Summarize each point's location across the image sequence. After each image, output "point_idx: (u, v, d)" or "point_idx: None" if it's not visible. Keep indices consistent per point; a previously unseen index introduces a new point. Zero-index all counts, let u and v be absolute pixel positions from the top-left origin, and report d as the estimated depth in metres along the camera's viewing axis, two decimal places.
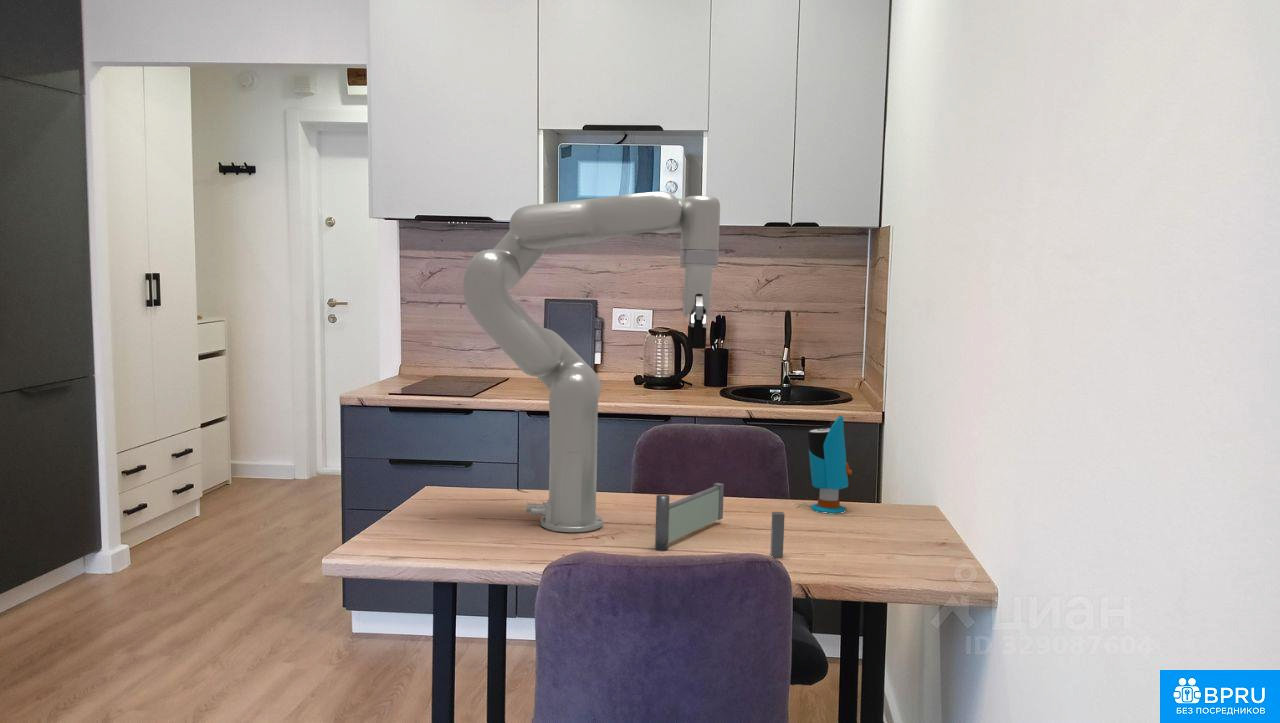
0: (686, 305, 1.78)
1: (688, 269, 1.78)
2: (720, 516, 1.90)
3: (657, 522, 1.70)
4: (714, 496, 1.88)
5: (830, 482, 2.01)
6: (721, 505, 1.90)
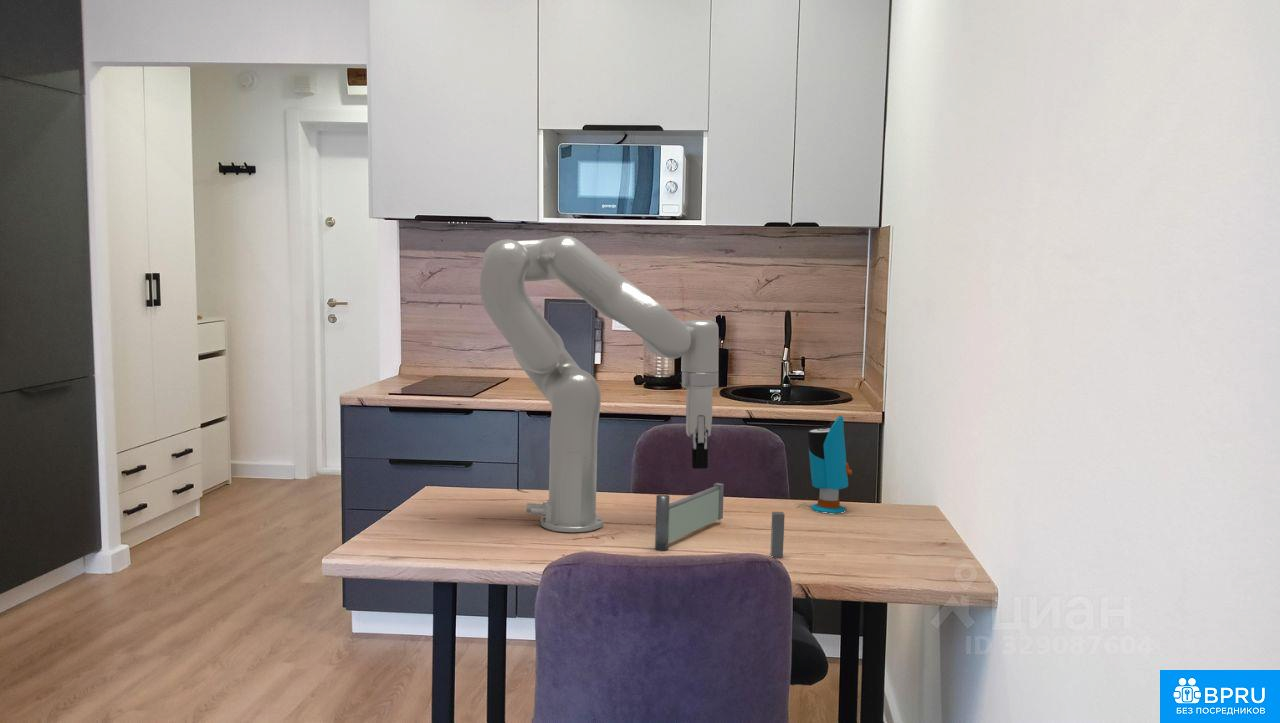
0: (689, 426, 1.87)
1: (690, 392, 1.87)
2: (720, 516, 1.90)
3: (657, 522, 1.70)
4: (714, 496, 1.88)
5: (830, 482, 2.01)
6: (721, 505, 1.90)
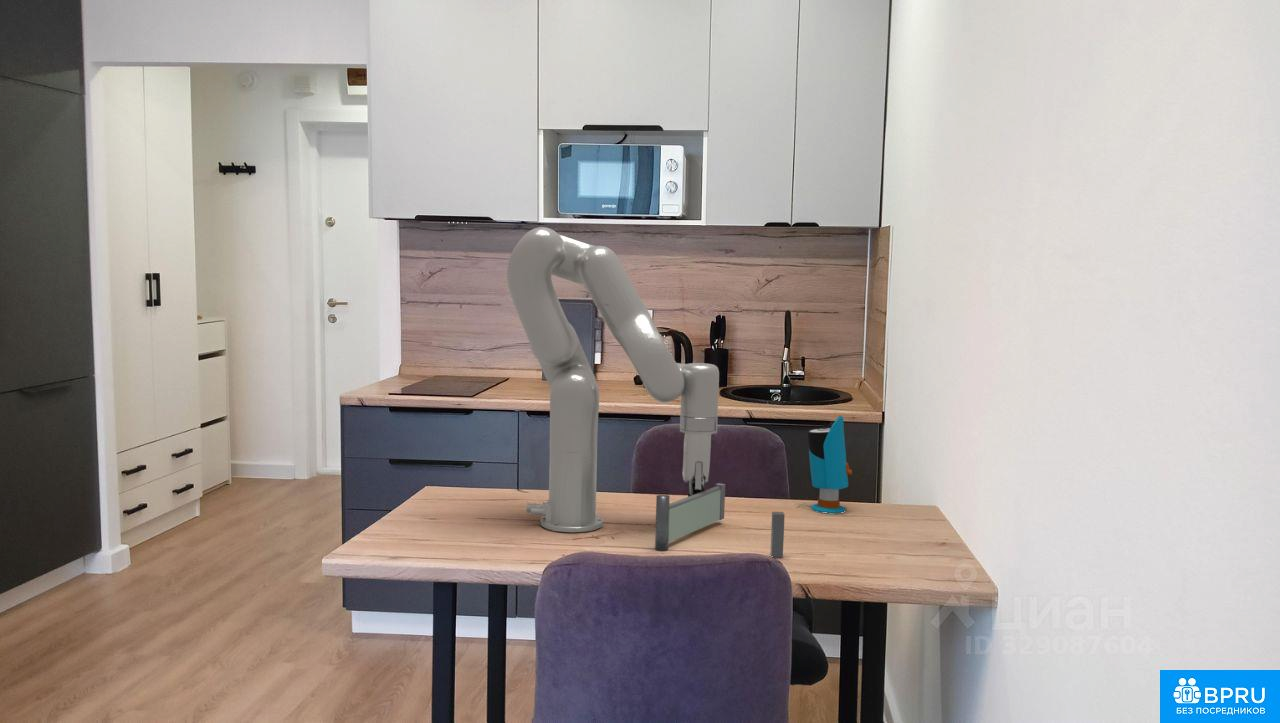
0: (686, 472, 1.82)
1: (688, 437, 1.83)
2: (721, 517, 1.90)
3: (657, 522, 1.70)
4: (716, 496, 1.88)
5: (830, 482, 2.01)
6: (722, 506, 1.90)
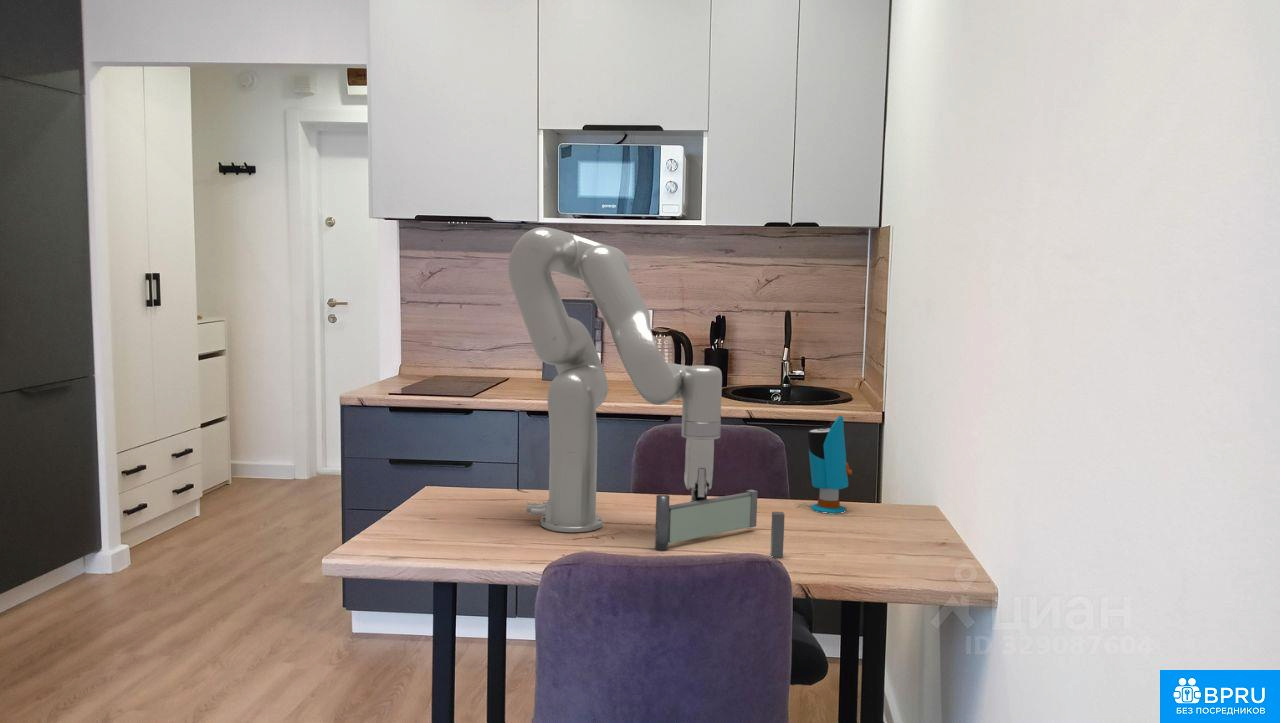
0: (689, 479, 1.75)
1: (690, 442, 1.76)
2: (752, 524, 1.85)
3: (657, 522, 1.70)
4: (743, 503, 1.83)
5: (830, 482, 2.01)
6: (754, 513, 1.85)
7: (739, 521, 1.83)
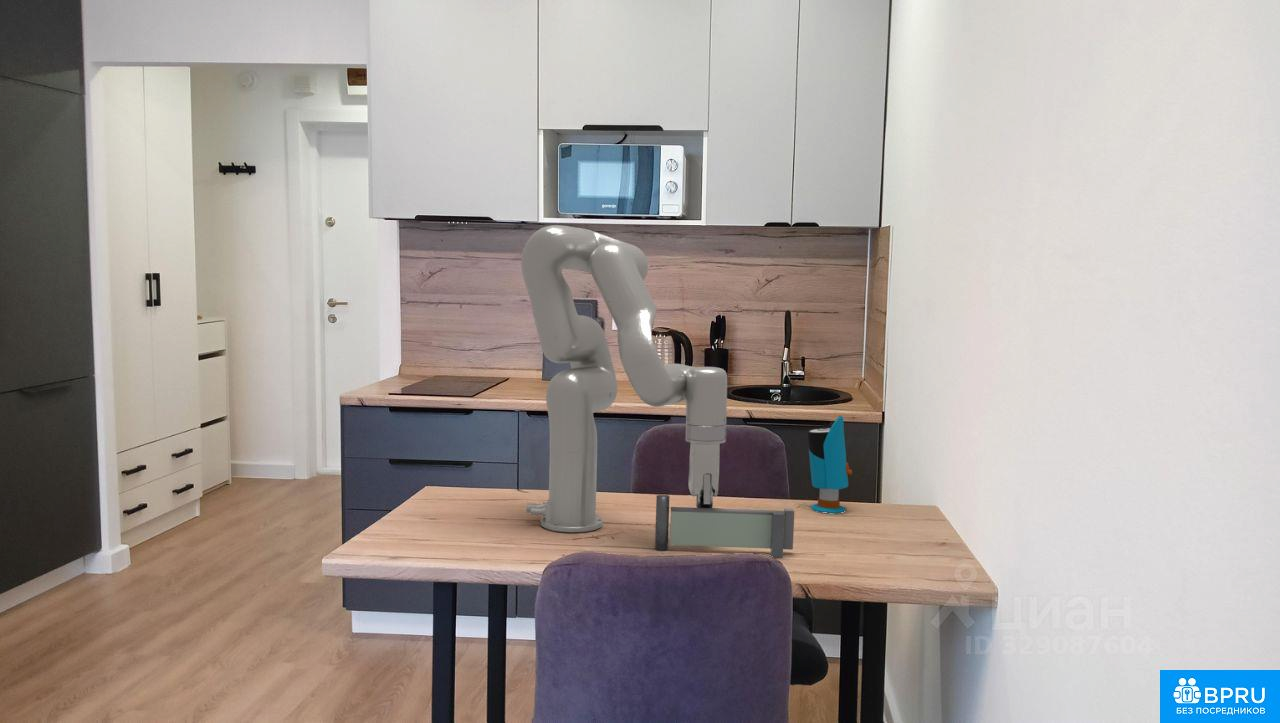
0: (694, 485, 1.68)
1: (695, 447, 1.69)
2: (786, 546, 1.70)
3: (657, 522, 1.70)
4: None
5: (830, 482, 2.01)
6: (789, 534, 1.70)
7: (767, 539, 1.70)
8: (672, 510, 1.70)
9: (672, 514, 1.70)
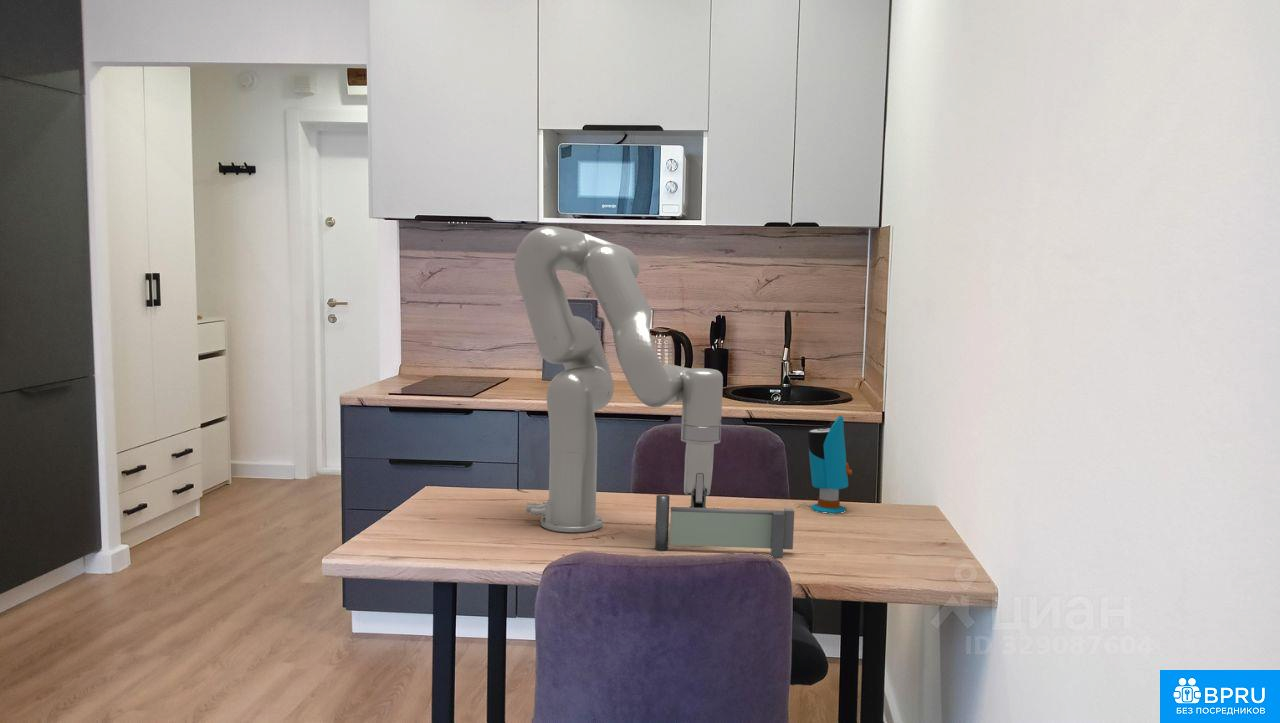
0: (686, 484, 1.72)
1: (689, 447, 1.72)
2: (786, 546, 1.70)
3: (657, 522, 1.70)
4: None
5: (830, 482, 2.01)
6: (789, 534, 1.70)
7: (767, 539, 1.70)
8: (672, 510, 1.70)
9: (672, 514, 1.70)
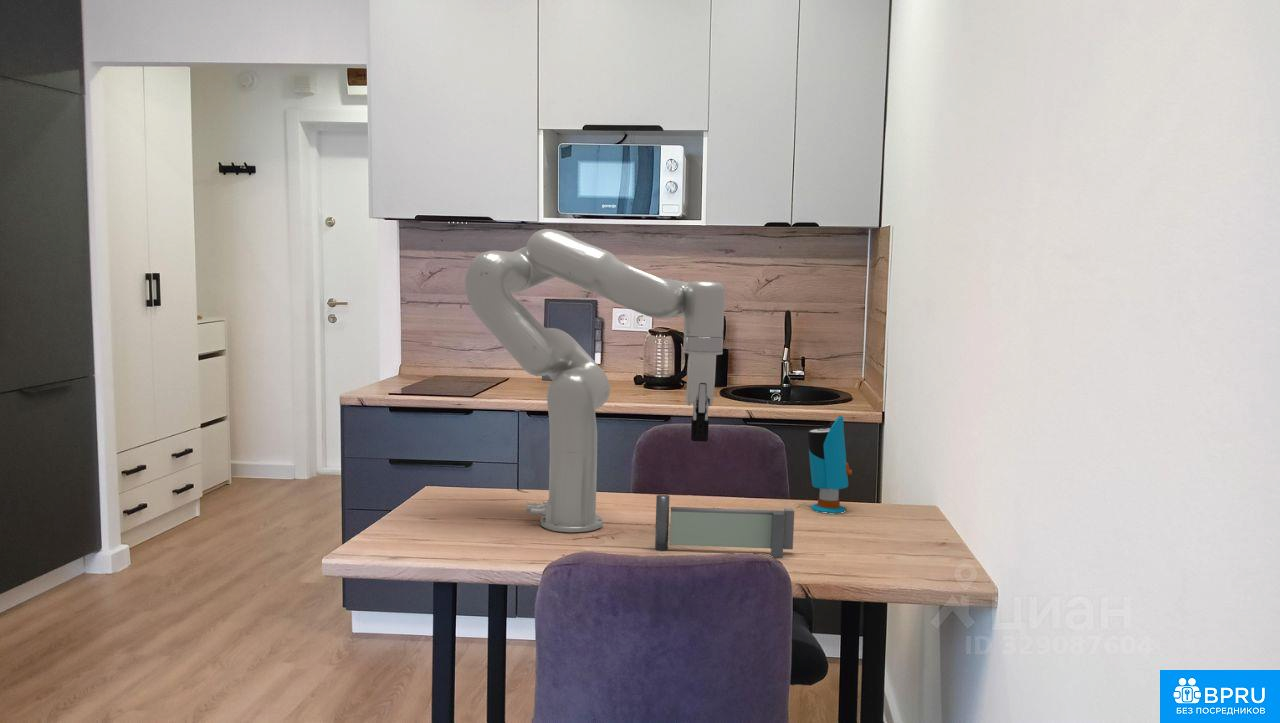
0: (689, 394, 1.73)
1: (692, 357, 1.73)
2: (786, 546, 1.70)
3: (657, 522, 1.70)
4: None
5: (830, 482, 2.01)
6: (789, 534, 1.70)
7: (767, 539, 1.70)
8: (672, 510, 1.70)
9: (672, 514, 1.70)
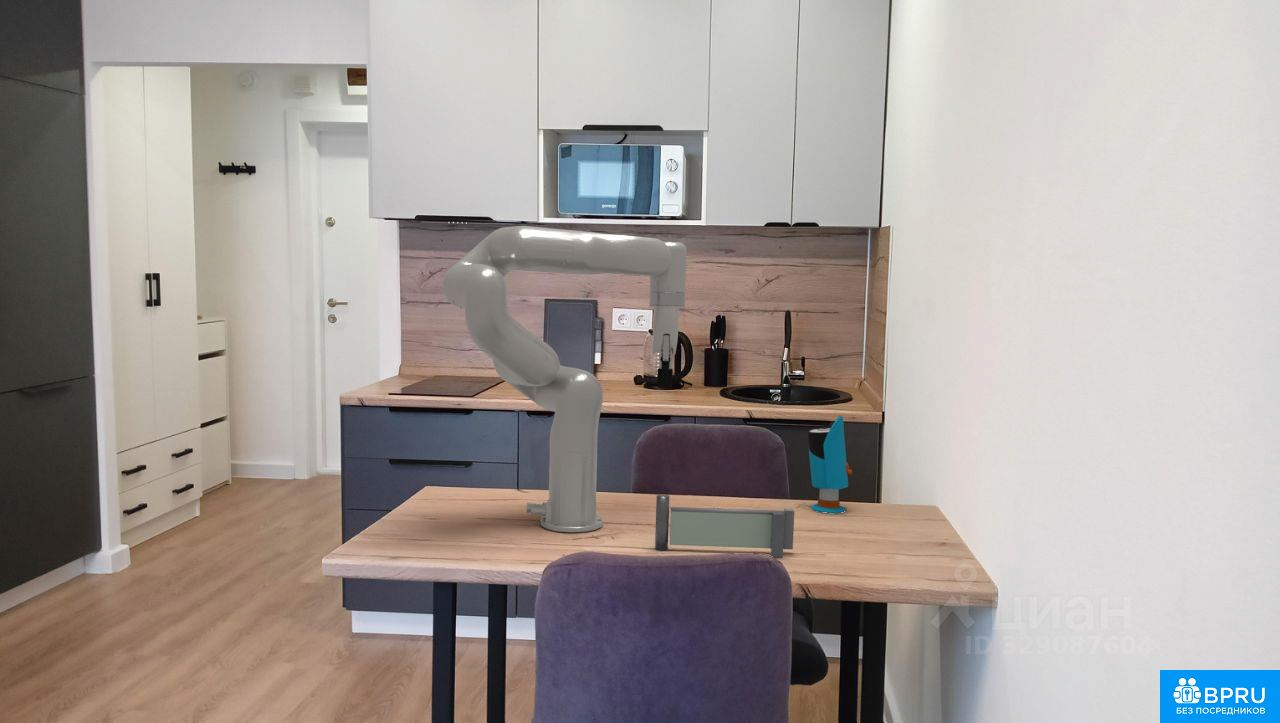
0: (654, 344, 1.90)
1: (656, 310, 1.91)
2: (786, 546, 1.70)
3: (657, 522, 1.70)
4: None
5: (830, 482, 2.01)
6: (789, 534, 1.70)
7: (767, 539, 1.70)
8: (672, 510, 1.70)
9: (672, 514, 1.70)
